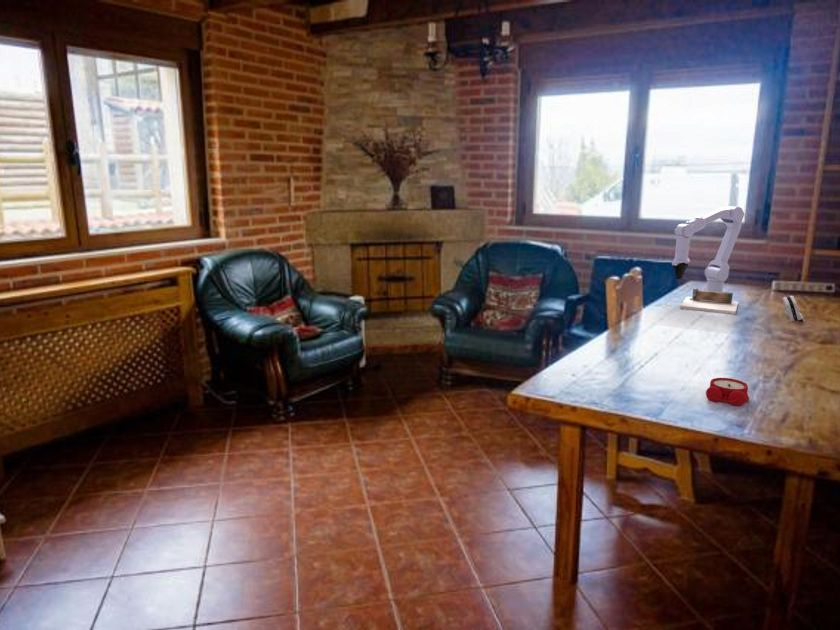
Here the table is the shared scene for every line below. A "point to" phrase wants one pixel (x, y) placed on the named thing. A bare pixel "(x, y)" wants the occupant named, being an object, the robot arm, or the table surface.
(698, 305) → the board
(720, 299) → the folding leg
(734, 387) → the alarm clock
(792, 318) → the hinge
